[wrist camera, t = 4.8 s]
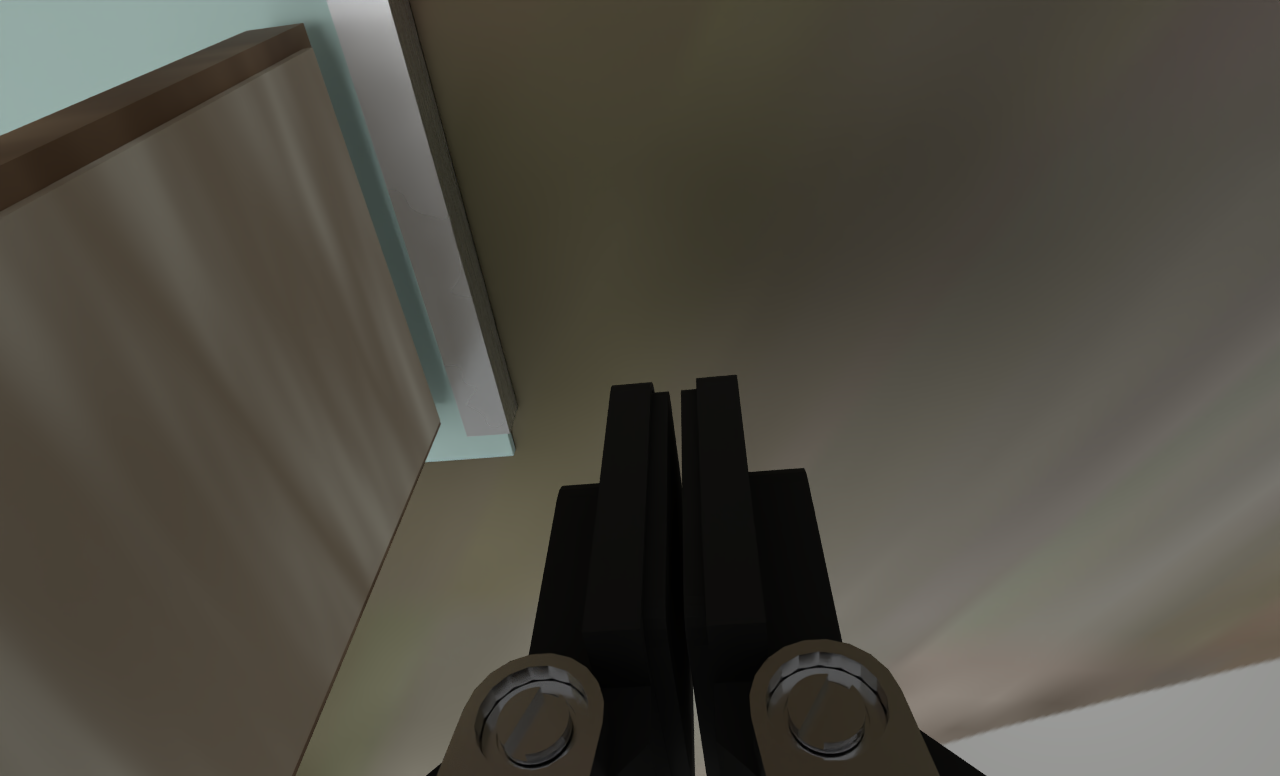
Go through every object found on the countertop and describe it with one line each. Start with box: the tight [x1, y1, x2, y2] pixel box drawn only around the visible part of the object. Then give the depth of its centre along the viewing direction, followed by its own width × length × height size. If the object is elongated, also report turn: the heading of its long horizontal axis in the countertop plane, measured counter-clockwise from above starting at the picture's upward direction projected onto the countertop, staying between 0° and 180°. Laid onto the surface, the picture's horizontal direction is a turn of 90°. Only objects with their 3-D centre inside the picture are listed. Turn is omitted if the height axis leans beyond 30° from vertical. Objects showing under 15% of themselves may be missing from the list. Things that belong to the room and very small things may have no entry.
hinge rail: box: [326, 0, 518, 437], centre depth 18 cm, size 1×11×1 cm, turn 7°
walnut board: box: [0, 23, 441, 776], centre depth 12 cm, size 1×10×14 cm, turn 7°
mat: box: [0, 0, 515, 462], centre depth 20 cm, size 20×14×1 cm
